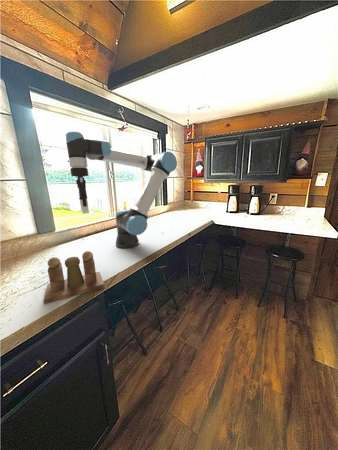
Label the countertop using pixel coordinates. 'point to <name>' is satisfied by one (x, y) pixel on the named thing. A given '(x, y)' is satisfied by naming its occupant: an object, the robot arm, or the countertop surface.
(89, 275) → the wooden peg board
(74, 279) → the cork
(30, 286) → the countertop surface
